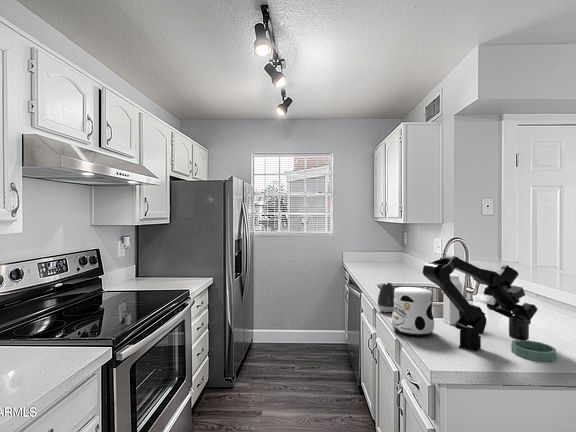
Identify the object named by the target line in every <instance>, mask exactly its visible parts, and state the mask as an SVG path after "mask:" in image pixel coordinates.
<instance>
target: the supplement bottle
mask: <svg viewBox="0 0 576 432" xmlns="http://www.w3.org/2000/svg"><path fill="white" fill-rule="evenodd" d="M518 317H519V316H518V311H517V310H513V311H511V314H510V315H509V318H508V336H509V338H511V339H513V340H529V338H530V335H529V334H530V324H527V323H525V322H524V321H522V320H520V319H519V318H518Z"/></svg>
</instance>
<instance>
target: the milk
mask: <svg viewBox="0 0 576 432" xmlns="http://www.w3.org/2000/svg"><path fill="white" fill-rule="evenodd" d="M450 280H451V282H452V283H453V284H454V285H455V287H456V288H457V289H458V290H459V291H460V293H461V294H462V295H463V283H462V281H461V280H460V277H459V276H457V275H455V276H454V275H453V276H452V275H450ZM442 302H443V306H442V307H443V310H442V311H443V312H442V313H443V323H446V324H448V325H450V326H454V325H455V323H456V322H457V321H458V319H459V318H460V317H459V310H458V309H457V308H456V307H455V306H454V304H453V303H452V302H451V301H450V299H449V298H448V297H447V296H446V295H445V293H444V292H443V301H442ZM455 326H456V325H455Z"/></svg>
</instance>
